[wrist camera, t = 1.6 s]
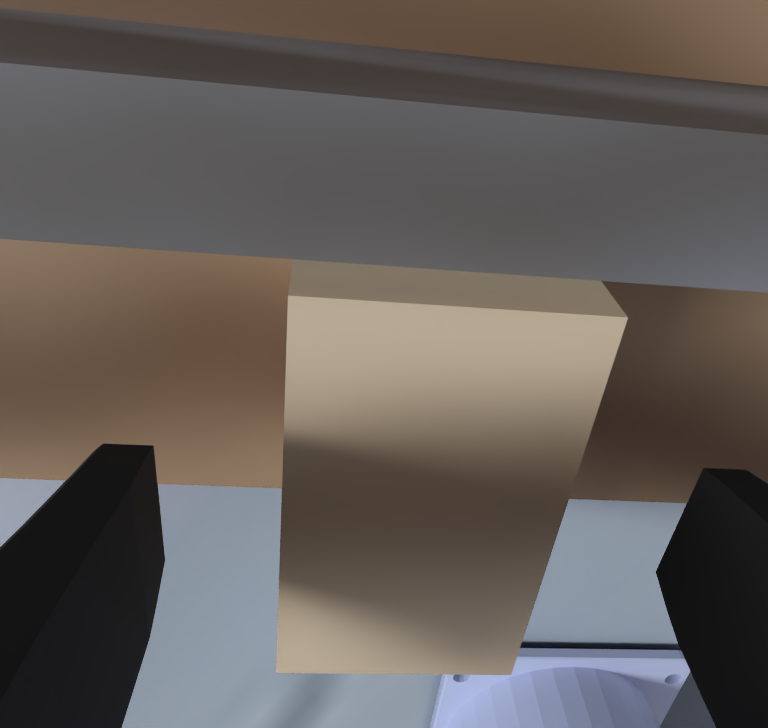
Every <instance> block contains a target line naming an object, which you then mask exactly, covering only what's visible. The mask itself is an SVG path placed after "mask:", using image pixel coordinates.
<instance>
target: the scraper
mask: <svg viewBox="0 0 768 728" xmlns="http://www.w3.org/2000/svg"><path fill="white" fill-rule="evenodd" d="M0 239H9V240H24V241H38V242H52V243H66V244H81V245H95V246H109V247H124V248H138V249H152V250H166V251H181V252H195V253H209V254H224V255H238V256H252V257H267V258H281V259H293V262H292V269H291V277H290V284H289V292H288V310H287V343H286V376H285V408H284V441H283V473H282V506H281V539H280V571H279V604H278V636H277V669H276V673H339V674H444V675H511V674H512V671H513V668H514V665H515V662H516V659H517V656H518V653H519V650H520V647H521V643H522V640H523V637H524V634H525V631H526V628H527V625H528V622H529V619H530V616H531V613H532V610H533V607H534V604H535V601H536V598H537V595H538V592H539V588H540V585H541V582H542V579H543V576H544V573H545V570H546V567H547V564H548V561H549V558H550V555H551V552H552V549H553V546H554V543H555V540H556V537H557V533H558V530H559V527H560V524H561V521H562V518H563V515H564V512H565V509H566V506H567V503H568V500H569V497H570V494H571V491H572V488H573V485H574V482H575V478H576V475H577V472H578V469H579V466H580V463H581V460H582V457H583V454H584V451H585V448H586V445H587V442H588V439H589V436H590V433H591V430H592V427H593V423H594V420H595V417H596V414H597V411H598V408H599V405H600V402H601V399H602V396H603V393H604V390H605V387H606V384H607V381H608V378H609V375H610V372H611V368H612V365H613V362H614V359H615V356H616V353H617V350H618V347H619V344H620V341H621V338H622V335H623V332H624V329H625V326H626V323H627V320H628V317H627V315H626V314H625V313H624V311H623V310H622V309H621V307H620V306H619V305H618V303H617V302H616V300H615V299H614V298H613V296H612V295H611V294H610V292H609V291H608V290H607V288H606V287H605V286H604V284H603V283H602V282H601V281H610V282H624V283H638V284H652V285H667V286H681V287H695V288H710V289H724V290H738V291H752V292H767V293H768V86H759V85H750V84H740V83H730V82H720V81H711V80H701V79H691V78H681V77H672V76H662V75H652V74H642V73H632V72H623V71H613V70H603V69H593V68H584V67H574V66H564V65H554V64H544V63H535V62H525V61H515V60H505V59H496V58H486V57H476V56H466V55H457V54H447V53H437V52H427V51H417V50H408V49H398V48H388V47H378V46H369V45H359V44H349V43H339V42H329V41H320V40H310V39H300V38H290V37H281V36H271V35H261V34H251V33H242V32H232V31H222V30H212V29H202V28H193V27H183V26H173V25H163V24H154V23H144V22H134V21H124V20H115V19H105V18H95V17H85V16H75V15H66V14H56V13H46V12H36V11H27V10H17V9H7V8H0Z"/></svg>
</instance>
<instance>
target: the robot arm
mask: <svg viewBox="0 0 768 728" xmlns="http://www.w3.org/2000/svg"><path fill="white" fill-rule="evenodd" d="M164 562H165V556H164V546H163V535H162V525H161V515H160V505H159V495H158V484H157V474H156V464H155V454H154V446H153V445H129V444H104V443H103V444H102V445H101V446H99V447H98V448H97V449H96V450H94V452H93V453H92V454H91V455H90V456H89V457H88V458H87V459H86V460H85V461H84V462H83V463H82V464H81V465H80V466H79V467H78V468H77V469H76V470H75V472H74V473H73V474H72V475H71V476H70V477H69V478H68V479H67V480H66V481H65V482H64V483H63V484H62V485H61V486H60V487H59V488H58V489H57V491H56V492H55V493H54V494H53V495H52V496H51V497H50V498H49V499H48V500H47V501H46V502H45V503H44V504H43V505H42V506H41V507H40V508H39V509H38V510H37V511H36V512H35V513H34V514H33V515H32V516H31V517H30V518H29V519H28V520H27V521H26V522H25V523H24V525H23V526H22V527H21V528H20V529H18V530H17V531H16V532H15V533H14V534H13V535H12V536H11V537H10V538H9V539H8V540H7V541H6V542H5V543H4V544H3V545H2V546H1V547H0V728H121V727H122V724H123V721H124V718H125V715H126V711H127V708H128V705H129V702H130V699H131V696H132V692H133V689H134V686H135V683H136V680H137V677H138V673H139V670H140V667H141V664H142V661H143V657H144V654H145V651H146V648H147V644H148V641H149V638H150V633H151V629H152V624H153V619H154V614H155V609H156V604H157V599H158V594H159V589H160V583H161V578H162V573H163V567H164ZM656 574H657V577H658V581H659V584H660V588H661V591H662V594H663V598H664V601H665V605H666V608H667V611H668V614H669V617H670V620H671V623H672V626H673V629H674V632H675V635H676V638H677V641H678V644H679V646H680V649H681V651H680V650H639V649H566V648H520V650H519V653H518V656H517V659H516V662H515V665H514V668H513V671H512V674H511V675H444V674H442V678H441V683H440V687H439V691H438V695H437V699H436V703H435V708H434V712H433V716H432V720H431V724H430V728H661V727H660V725H661V724H662V722H663V720H664V718H665V716H666V715H667V713H668V711H669V709H670V707H671V705H672V704H673V702H674V700H675V698H676V696H677V695H678V693H679V691H680V689H681V687H682V685H683V684H684V682H685V680H686V678H687V676H688V675H689V673H690V671H691V673H692V676H693V678H694V680H695V682H696V684H697V687H698V689H699V691H700V693H701V695H702V698H703V700H704V702H705V704H706V706H707V708H708V711H709V713H710V715H711V717H712V719H713V721H714V723H715V726H716V728H768V484H767V483H766V482H764V481H763V480H761V479H760V478H758V477H757V476H755V475H754V474H752V473H751V472H749V471H747V470H743V469H719V468H703V470H702V472H701V474H700V476H699V478H698V481H697V483H696V485H695V487H694V489H693V492H692V494H691V496H690V498H689V500H688V503H687V505H686V507H685V509H684V511H683V514H682V516H681V518H680V520H679V522H678V524H677V527H676V529H675V531H674V533H673V535H672V538H671V540H670V542H669V544H668V546H667V549H666V551H665V553H664V555H663V557H662V560H661V562H660V564H659V566H658V568H657V571H656Z"/></svg>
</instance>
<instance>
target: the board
mask: <svg viewBox="0 0 768 728" xmlns="http://www.w3.org/2000/svg"><path fill="white" fill-rule="evenodd" d="M0 8H7V9H17V10H27V11H36V12H46V13H56V14H66V15H75V16H85V17H95V18H105V19H115V20H124V21H134V22H144V23H154V24H163V25H173V26H183V27H193V28H202V29H212V30H222V31H232V32H242V33H251V34H261V35H271V36H281V37H290V38H300V39H310V40H320V41H329V42H339V43H349V44H359V45H369V46H378V47H388V48H398V49H408V50H417V51H427V52H437V53H447V54H457V55H466V56H476V57H486V58H496V59H505V60H515V61H525V62H535V63H544V64H554V65H564V66H574V67H584V68H593V69H603V70H613V71H623V72H632V73H642V74H652V75H662V76H672V77H681V78H691V79H701V80H711V81H720V82H730V83H740V84H750V85H759V86H768V0H0ZM292 262H293V259H281V258H267V257H252V256H238V255H224V254H209V253H195V252H181V251H166V250H152V249H138V248H124V247H109V246H95V245H81V244H66V243H52V242H38V241H24V240H9V239H0V478H17V479H44V480H67V479H68V478H69V477H70V476H71V475H72V474H73V473H74V472H75V470H76V469H77V468H78V467H79V466H80V465H81V464H82V463H83V462H84V461H85V460H86V459H87V458H88V457H89V456H90V455H91V454H92V453H93V452H94V450H96V449H97V448H98V447H99V446H101V445H102V444H103V443H104V444H129V445H153V446H154V454H155V464H156V474H157V484H181V485H209V486H236V487H263V488H282V473H283V441H284V408H285V376H286V343H287V310H288V292H289V284H290V277H291V269H292ZM601 282H602V283H603V284H604V286H605V287H606V288H607V290H608V291H609V292H610V294H611V295H612V296H613V298H614V299H615V300H616V302H617V303H618V305H619V306H620V307H621V309H622V310H623V311H624V313H625V314H626V315H627V317H628V320H627V323H626V326H625V329H624V332H623V335H622V338H621V341H620V344H619V347H618V350H617V353H616V356H615V359H614V362H613V365H612V368H611V372H610V375H609V378H608V381H607V384H606V387H605V390H604V393H603V396H602V399H601V402H600V405H599V408H598V411H597V414H596V417H595V420H594V423H593V427H592V430H591V433H590V436H589V439H588V442H587V445H586V448H585V451H584V454H583V457H582V460H581V463H580V466H579V469H578V472H577V475H576V478H575V482H574V485H573V488H572V491H571V494H570V497H569V499H592V500H620V501H647V502H674V503H688V500H689V498H690V496H691V494H692V492H693V489H694V487H695V485H696V483H697V481H698V478H699V476H700V474H701V472H702V470H703V468H719V469H743V470H747V471H749V472H751V473H752V474H754V475H755V476H757V477H758V478H760V479H761V480H763V481H764V482H766V483H767V484H768V293H767V292H752V291H738V290H724V289H710V288H695V287H681V286H667V285H652V284H638V283H624V282H610V281H601Z"/></svg>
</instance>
